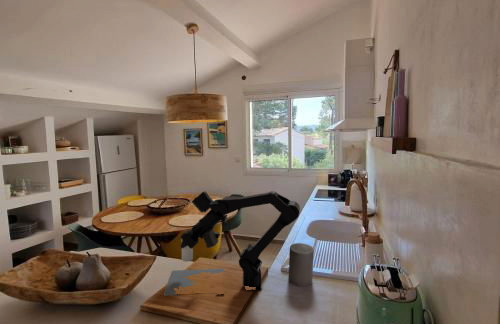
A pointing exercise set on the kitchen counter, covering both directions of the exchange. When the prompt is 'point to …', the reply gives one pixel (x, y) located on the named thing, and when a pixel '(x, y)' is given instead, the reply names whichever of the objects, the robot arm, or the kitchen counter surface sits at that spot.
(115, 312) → the kitchen counter surface
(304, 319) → the kitchen counter surface
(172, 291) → the desk mat
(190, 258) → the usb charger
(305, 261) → the pillar candle
